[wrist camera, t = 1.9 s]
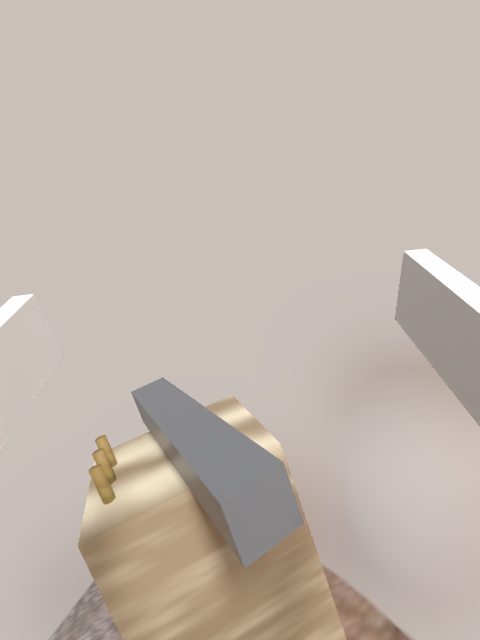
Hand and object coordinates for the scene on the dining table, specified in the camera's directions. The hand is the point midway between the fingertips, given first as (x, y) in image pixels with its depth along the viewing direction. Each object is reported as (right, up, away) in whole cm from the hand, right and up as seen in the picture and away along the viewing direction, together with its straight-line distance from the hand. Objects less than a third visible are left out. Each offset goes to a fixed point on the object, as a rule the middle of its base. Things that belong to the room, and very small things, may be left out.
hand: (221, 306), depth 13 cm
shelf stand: (+7, -48, +27) cm, 56 cm away
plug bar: (-3, -12, +18) cm, 22 cm away
